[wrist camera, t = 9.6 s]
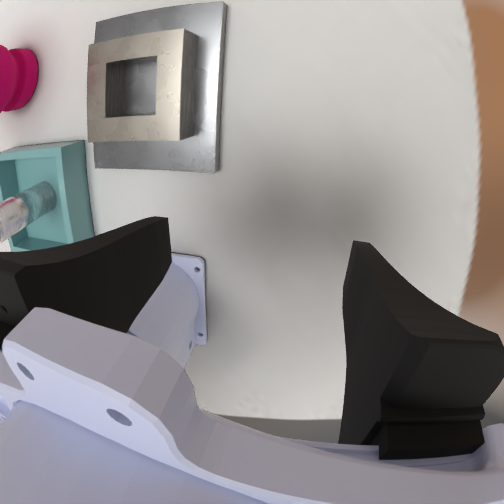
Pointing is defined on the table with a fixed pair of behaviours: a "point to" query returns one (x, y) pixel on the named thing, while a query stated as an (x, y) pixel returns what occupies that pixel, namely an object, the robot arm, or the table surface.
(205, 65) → the hitch plate
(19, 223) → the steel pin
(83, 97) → the table surface
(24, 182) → the tray
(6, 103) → the pepper mill
